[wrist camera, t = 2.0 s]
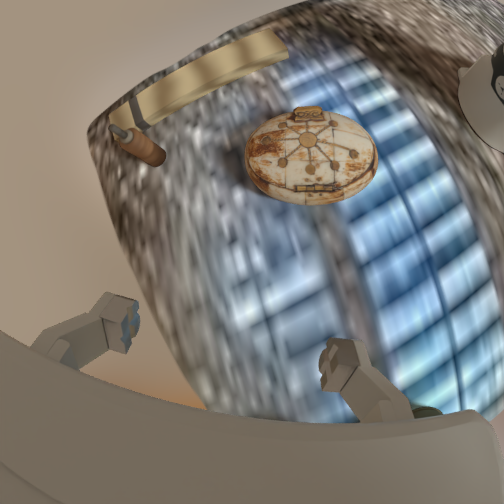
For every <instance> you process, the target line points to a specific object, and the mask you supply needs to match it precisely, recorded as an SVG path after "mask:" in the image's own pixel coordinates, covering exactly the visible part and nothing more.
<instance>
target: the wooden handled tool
mask: <svg viewBox="0 0 504 504" xmlns="http://www.w3.org/2000/svg"><path fill="white" fill-rule="evenodd" d="M109 130H110V131H111V132H113V133H114V134H116V135H118V136H119V137H120V138H119V139H120V140H119V144H120V147H121V148H123V149H124V150H126V151H128V152H129V153H131V154H133V155H135V156H136V157H138V158H140V159H141V160H143V161H145V162H146V163H148V164H150V165H151V166H153V167H158V166H160V165H161V164H163V162H164V161H165V159H166V152H165V150H163V149H162V148H161V147H159V146H158V145H157V144H155V143H154V142H153V141H151V140H150V139H149V138H147V137H146V136H145V135H143V134H142V133H141V132H139V131H138V130H137V129H135V128H129V129H127V130H122V129H121V128H119V127H118V126H116V125H115V124H111V125H110V126H109Z"/></svg>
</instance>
